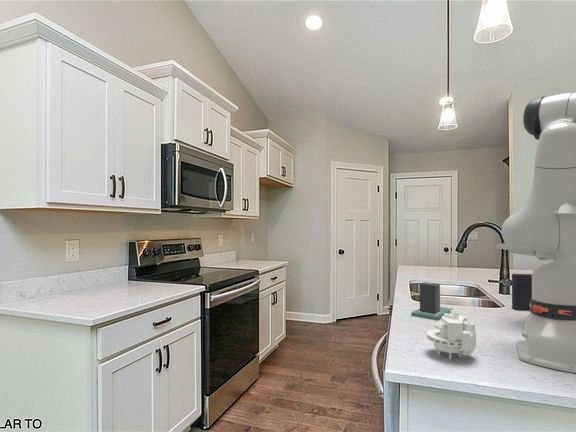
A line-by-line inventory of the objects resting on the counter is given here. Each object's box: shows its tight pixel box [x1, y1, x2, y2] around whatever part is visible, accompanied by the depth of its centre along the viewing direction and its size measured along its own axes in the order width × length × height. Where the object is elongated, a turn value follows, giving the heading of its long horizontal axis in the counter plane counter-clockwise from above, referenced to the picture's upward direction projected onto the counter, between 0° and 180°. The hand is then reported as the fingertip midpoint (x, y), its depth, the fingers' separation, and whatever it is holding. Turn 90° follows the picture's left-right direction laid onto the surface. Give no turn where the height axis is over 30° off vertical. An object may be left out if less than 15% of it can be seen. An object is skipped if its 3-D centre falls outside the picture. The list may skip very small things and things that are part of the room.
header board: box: [410, 306, 453, 321], centre depth 140 cm, size 18×10×3 cm, turn 138°
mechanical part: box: [426, 309, 477, 360], centre depth 95 cm, size 11×12×12 cm
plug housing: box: [419, 281, 441, 314], centre depth 138 cm, size 5×6×11 cm
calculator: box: [511, 273, 533, 312], centre depth 148 cm, size 11×4×15 cm, turn 84°
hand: (499, 245), depth 131 cm, fingers open, 8 cm apart
